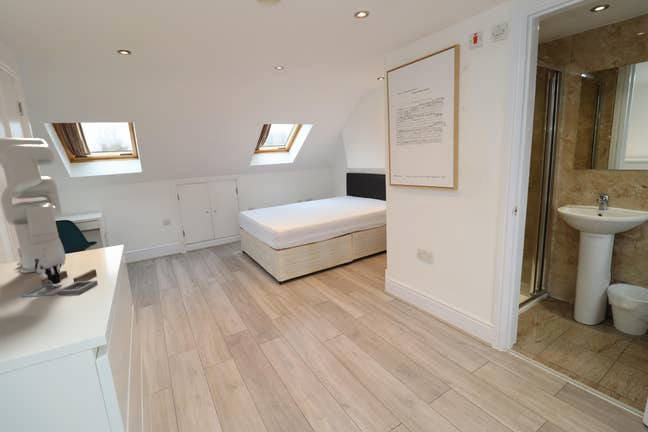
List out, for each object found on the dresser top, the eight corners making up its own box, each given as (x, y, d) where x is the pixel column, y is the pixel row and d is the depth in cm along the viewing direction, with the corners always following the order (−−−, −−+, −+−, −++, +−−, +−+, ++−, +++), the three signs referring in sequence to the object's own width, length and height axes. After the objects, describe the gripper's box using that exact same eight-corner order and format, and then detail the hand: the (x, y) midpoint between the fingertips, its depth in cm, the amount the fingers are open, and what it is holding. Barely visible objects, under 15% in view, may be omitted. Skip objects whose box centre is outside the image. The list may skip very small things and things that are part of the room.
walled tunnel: (42, 285, 119) (41, 279, 118) (64, 276, 128) (62, 270, 128) (78, 284, 119) (76, 278, 118) (96, 274, 128) (95, 269, 128)
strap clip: (43, 295, 110) (41, 284, 109) (35, 296, 110) (32, 285, 109) (63, 286, 118) (61, 276, 117) (55, 286, 118) (53, 276, 117)
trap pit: (57, 295, 109) (56, 291, 109) (77, 285, 118) (76, 281, 117) (79, 294, 109) (78, 290, 109) (97, 284, 118) (97, 280, 117)
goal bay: (19, 297, 109) (19, 296, 109) (42, 286, 118) (42, 286, 118) (52, 295, 109) (52, 294, 109) (73, 285, 118) (73, 284, 118)
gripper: (52, 233, 121) (61, 276, 124) (15, 243, 106) (26, 292, 109) (71, 232, 121) (79, 275, 124) (36, 242, 106) (47, 291, 109)
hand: (55, 283), depth 117 cm, fingers closed
